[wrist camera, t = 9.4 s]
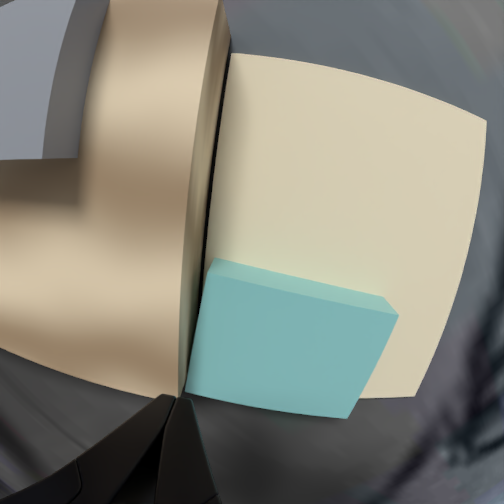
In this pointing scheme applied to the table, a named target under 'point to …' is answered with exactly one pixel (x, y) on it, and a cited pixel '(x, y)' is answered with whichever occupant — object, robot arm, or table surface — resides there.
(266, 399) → the teal block
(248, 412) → the table surface
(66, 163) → the wooden block
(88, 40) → the gray rectangular block
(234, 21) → the table surface
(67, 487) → the robot arm
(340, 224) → the mat
